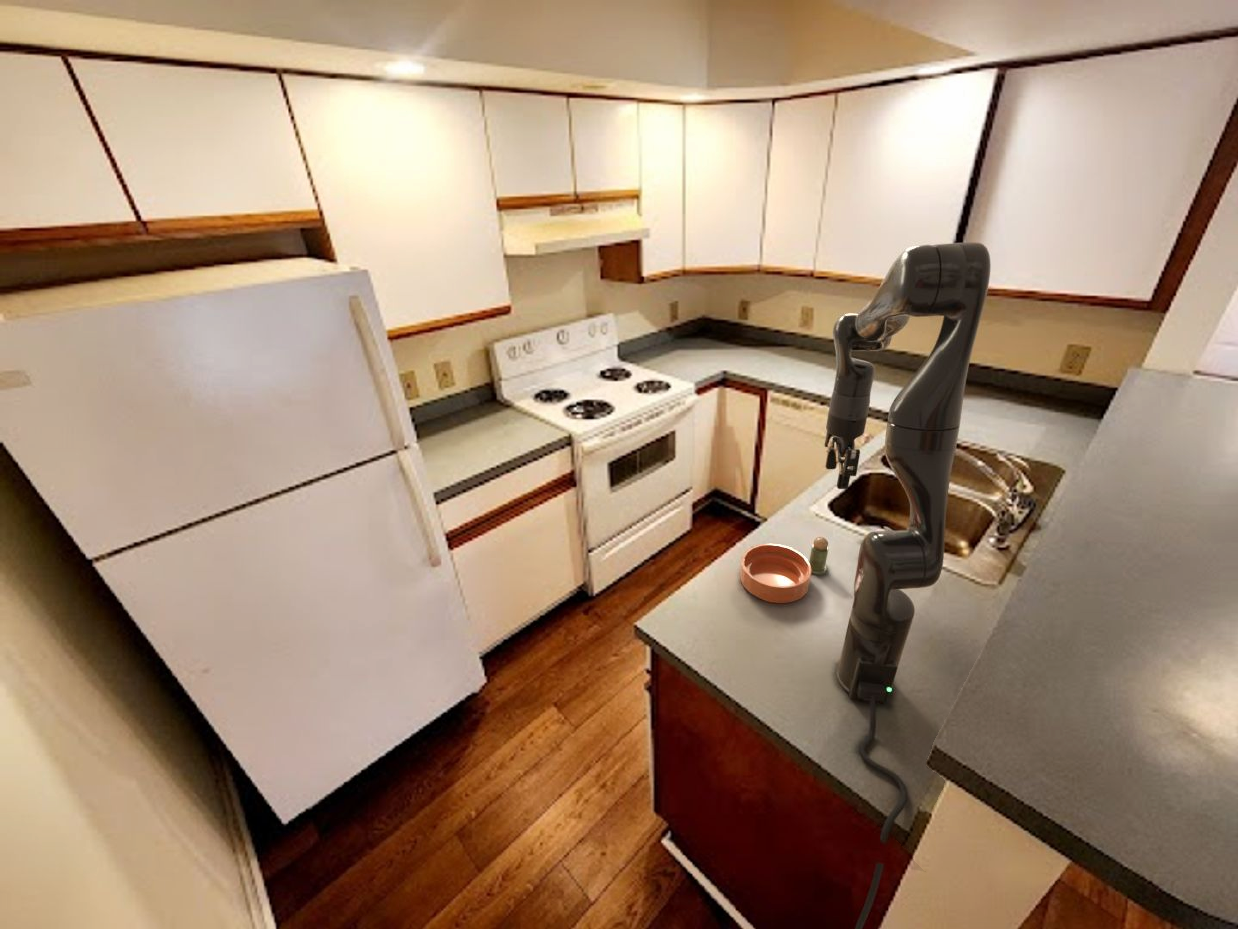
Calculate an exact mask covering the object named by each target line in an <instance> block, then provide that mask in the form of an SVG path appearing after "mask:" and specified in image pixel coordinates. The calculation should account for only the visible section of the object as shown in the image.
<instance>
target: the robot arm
mask: <svg viewBox="0 0 1238 929" xmlns="http://www.w3.org/2000/svg"><path fill="white" fill-rule="evenodd" d="M991 265H992V264H991V255H990V251H989V250H988V247H987V246H985V245H984V244H983V243H981V242H975V241H974V242H973V241H972V242H949V243H933V244H922V245H915V246H912V247H909V248H907V249H905V250H903V251H902V252H901V253H900V254H898V256H897V257H896V258H895V259H894V261H893V262H892V264H891V265H890V267H889V269H888V270H887V273H886V274H885V276H884V278H883V279H882V282H881V283H880V286H879V287H878V288H877V291H876V293H875V294H874V297H873V298H872V299H871V300H870V301H869V302H867V304H866V305H864V306H863V307H862V308H861V309H860V311H858V313H844V314H842V315H840V316H839V317H838V318H837V319H836V321H835V323H834V326H833V329H832V336H833V337H832V338H833V344H834V348H835V360H836V370H835V377H834V384H833V389H832V393H831V396H830V400H829V407H828V412H827V419H826V424H825V425H826V426H825V430H826V435H825V440H824V447H825V448H826V451H825V452H826V454H827V455H826V460H825V469H826V470H836V468H837V465H838V477H837V481H836V487H837V489H838V490H847V489H849V484H850V480H851V477H856V476H857V473H858V468H859V461H860V457H861V456H860V455H861V450H860V448H858V449H856V443H855V440H856V439H857V438H859V437H862V436H863V435H864V433H865V431H866V430H865V429H866V425H867V419H868V416H869V415H868V414H869V410H870V403H871V392H872V388H873V383H874V377H875V373H876V372H875V370H876V369H875V368H876V367H875V366H874V364H873V363H871V362H869V361H867V360H864V359H858V358H855V357H852V352H878V351H882V350H885V349H887V348H888V347H889V346H890V344H891V341H892V340H893V339H892V338H893V336H894V335H896V334H898V333H899V332H900V331H901V330H903V329H904V328H905V327H906V325H907V324H908V322H909V320H910V317H913V318H925V317H928V318H929V317H942V318H943V319H942V323H941V327H940V330H939V333H938V336H937V339H936V340H935V343H934V345H933V347H932V350H931V351H930V353H929V355H928V356H927V357H926V359H925V361H924V362H923V363H922V365H920V367H919V368H918V369H917V370H916V372H914V374H913V375H912V377H910V379H908V381H907V382H906V384H905V385H904V386H903V387H902V388H901V390H900V391H899V393H898V394H897V395H896V396H895V398H894V399H893V401H892V402H891V404H890V407H889V410H888V414H887V422H886V432H885V439H884V455H885V457H886V460H887V462H888V464H889V466H890V468H891V470H892V472H893V473H894V475H895V477H896V478H897V480H898V482H899V483H900V485H901V486H902V488H903V490H904V493H905V495H906V497H907V499H908V503H909V520H908V526H907V528H906V529H897V530H893V529H892V530H893V531H885V530H877V531H871V532H868V533H867V534H866V535H864V537H863V539H862V540H863V541H862V540H861V543H860V546H859V551H858V558H857V565H856V571H855V576H854V577H855V578H854V582H853V600H852V601H853V602H852V606H851V611H850V615H849V618H848V623H847V628H846V631H845V636H844V640H843V644H842V648H841V652H840V656H839V657H840V658H839V662H838V665H837V668H836V679H837V680H838V683H839V685H840V686H841V687H842V688H843V690H844V691H846V692H847V693H848V695H849V696H848V697H849V699H851V700H858V701H865V702H869V713H870V714H869V730H868V735H867V737H866V738H865V739H864V740H863V741H862V742H861V743H860V745H859V747H858V752H859V754H860V755H859V756H860V757H861V758H862V760H863V761H864V763H865V764H867V765H868V766H869V767H871V768H872V769H874V770H876V771H878V772H879V773H881V774H884V775H885V776H888V777H889V778H891V779H893V781H894V782H895V783H896V784H897V786H898V788H899V791H900V798H899V801H898V802H897V804H896V805H895V807H894V808H893V809H892V811H891V812H890V813H889V814H888V816H887V818H886V819H885V821H884V822H883V826H882V828H881V832H880V837H879V840H880V842H881V843H882V844H886V843H887V842H888V837H889V833H890V830H891V827H892V825H893V824H894V822H895V820H896V819H897V818H898V816H900V814H901V813H902V812H903V810H904V808H905V807H906V804H907V802H908V792H907V789H906V785H905V784H904V781H903V780H902V779H901V777H900V776H898V775H897V774H896V773H895V772H893V771H892V770H890V769H888V768H886V767H885V766H882V765H881V764H879V763H877V762H875V761H874V760H872V759H871V758H870V757H869V756H868V755H867V753H866V749H867V747H868V746H869V745H870V744H871V743H872V742H873V741H874V738H875V736H876V728H877V727H876V726H877V708H876V707H877V706H876V703H881V704H888V701H889V697H890V695H891V693H892V691H893V690H892V689H893V684H894V682H895V678H896V675H897V672H898V669H899V665H900V661H901V658H902V656H903V653H904V649H905V645H906V642H907V639H908V636H909V634H910V630H911V627H912V624H913V620H914V617H915V609H916V608H915V604H914V603H913V601H912V599H911V598H910V596H908V594H906V593H905V592H904V591H902V590H909V589H911V590H912V589H924V588H928V587H932V586H934V585H935V584H936V583H937V581H938V580H939V579H940V577H941V574H942V570H943V565H944V558H945V542H946V540H945V539H946V520H947V519H946V518H947V506H948V498H949V497H948V496H949V490H950V482H951V475H952V470H953V464H954V460H955V455H956V449H957V444H958V438H959V432H960V426H961V419H962V412H963V410H962V409H963V403H964V396H965V389H966V383H967V378H968V371H969V366H970V362H971V361H970V360H971V357H972V354H973V350H974V345H975V341H976V339H977V338H976V337H977V333H978V330H979V326H980V322H981V318H982V315H983V311H984V307H985V303H986V299H987V296H988V295H987V294H988V290H989V286H990V277H991V269H992V268H991ZM883 870H884V863H882V862H876V865H875V869H874V873H873V877H872V881H871V884H870V888H869V891H868V893H867V897H866V899H865V902H864V905H863V908H862V910H861V912H860V914H859V916H858V917H859V918H858V919H857V922H856V925H855V927H854V929H863V928H864V925H865V923H866V920H867V918H868V916H869V913H870V911H871V908H872V906H873V904H874V900H875V897H876V895H877V892H878V888H879V884H880V881H881V877H882V874H883Z"/></svg>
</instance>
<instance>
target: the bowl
mask: <svg viewBox="0 0 1238 929" xmlns="http://www.w3.org/2000/svg"><path fill="white" fill-rule="evenodd" d="M809 561H810V560H808V558H807V557H806V556H805V555H803V554H802V553H801V552H800V551H798V550H796V549H794V548H793V547H790V546H787V545H783V544H778V543H763V544H756V545H754V546H751V547H750V548H748V549H747V550H746V551H745V552H744V553H743V555H742V556H741V563H740V581H741V584H742V586H743V588H745V589H746V590H747V591H748V592H749V593H750V594H751V595H753V596H754V597H756V598H758V599H759V600H763V601H765V602H768V603H775V604H776V603H777V604H786V603H787V604H788V603H793V602H795V601H798V600H801V599H802V598H803V597H804V596H805V595H806V594H807V593H808V590H809V588H810V584H811V578H812V570H811V565H810V563H809Z"/></svg>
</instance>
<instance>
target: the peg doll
mask: <svg viewBox="0 0 1238 929" xmlns="http://www.w3.org/2000/svg"><path fill="white" fill-rule="evenodd" d="M828 553H829V542H828V540H827V538H825V537H824V536H818V537H816V538H815V539H814V540H813V543H812V544H811V550H810V555H809V560H808V561H809V563H810V565H811V570H812V573H811V575H812V574H813V575H816V576H821V575H824V574H826V573H827V565H826V563H827V560H828Z"/></svg>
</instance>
